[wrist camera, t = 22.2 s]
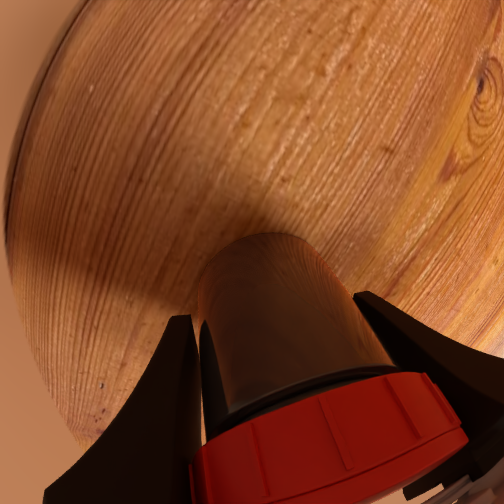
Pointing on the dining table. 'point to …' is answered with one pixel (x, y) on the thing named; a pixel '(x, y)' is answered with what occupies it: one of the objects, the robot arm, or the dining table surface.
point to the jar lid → (332, 446)
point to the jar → (278, 331)
